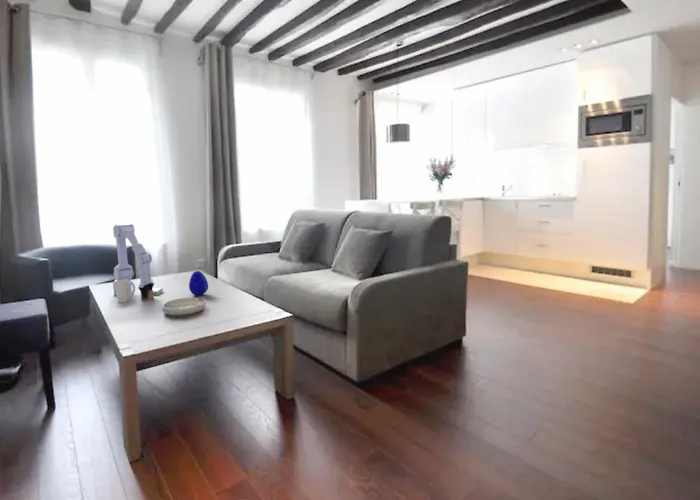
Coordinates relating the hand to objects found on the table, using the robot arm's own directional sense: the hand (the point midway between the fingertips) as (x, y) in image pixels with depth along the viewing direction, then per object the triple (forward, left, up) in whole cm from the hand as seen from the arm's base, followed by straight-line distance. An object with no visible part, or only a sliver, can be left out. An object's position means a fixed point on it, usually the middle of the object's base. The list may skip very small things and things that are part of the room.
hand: (147, 296), depth 251 cm
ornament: (+28, +6, -2) cm, 29 cm away
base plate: (-2, +13, -1) cm, 13 cm away
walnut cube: (0, 0, -1) cm, 1 cm away
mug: (-11, -2, -2) cm, 11 cm away
